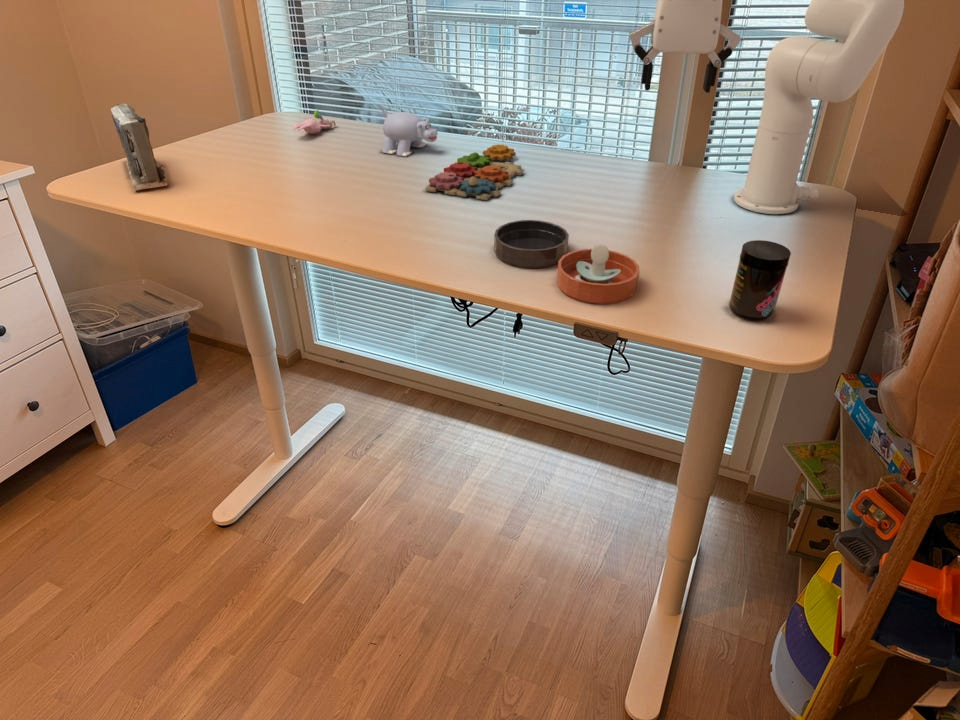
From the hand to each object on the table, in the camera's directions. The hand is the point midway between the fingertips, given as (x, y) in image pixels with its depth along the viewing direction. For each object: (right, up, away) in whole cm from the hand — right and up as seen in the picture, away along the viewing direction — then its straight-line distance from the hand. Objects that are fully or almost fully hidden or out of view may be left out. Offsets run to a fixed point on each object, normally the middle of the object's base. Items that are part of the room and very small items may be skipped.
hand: (676, 89), depth 115 cm
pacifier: (-14, -32, -1) cm, 35 cm away
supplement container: (+9, -38, -8) cm, 40 cm away
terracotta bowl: (-13, -33, -1) cm, 35 cm away
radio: (-109, -3, +42) cm, 117 cm away
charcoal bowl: (-24, -26, +9) cm, 36 cm away
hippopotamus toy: (-50, +7, +58) cm, 77 cm away
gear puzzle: (-32, -3, +43) cm, 53 cm away
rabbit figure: (-77, +15, +69) cm, 104 cm away
